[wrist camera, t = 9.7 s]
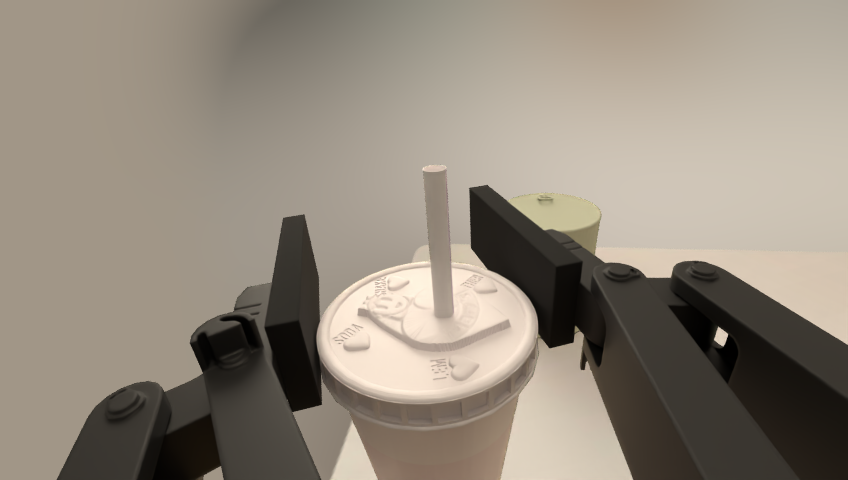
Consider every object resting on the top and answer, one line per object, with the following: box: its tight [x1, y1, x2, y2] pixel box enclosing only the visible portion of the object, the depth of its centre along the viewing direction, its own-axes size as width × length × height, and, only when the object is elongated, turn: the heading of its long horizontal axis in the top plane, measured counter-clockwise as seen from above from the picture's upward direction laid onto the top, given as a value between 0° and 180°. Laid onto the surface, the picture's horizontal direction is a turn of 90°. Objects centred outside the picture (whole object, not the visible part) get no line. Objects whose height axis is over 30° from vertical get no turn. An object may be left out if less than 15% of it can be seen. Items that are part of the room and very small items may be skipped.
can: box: [508, 193, 601, 338], centre depth 40 cm, size 9×9×12 cm
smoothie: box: [317, 165, 539, 480], centre depth 13 cm, size 6×6×14 cm
